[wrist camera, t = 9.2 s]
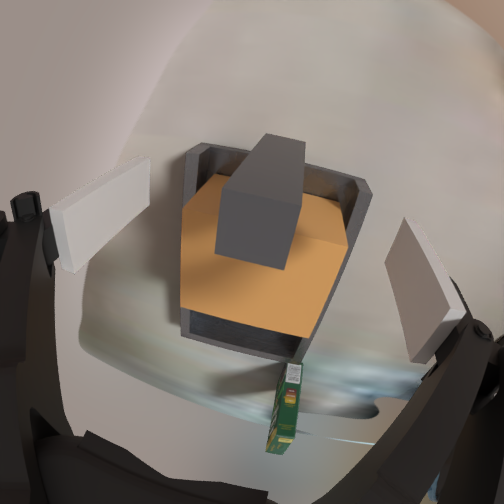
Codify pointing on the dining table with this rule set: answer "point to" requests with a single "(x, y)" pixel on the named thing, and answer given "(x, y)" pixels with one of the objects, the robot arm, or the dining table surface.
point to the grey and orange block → (262, 243)
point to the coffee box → (285, 409)
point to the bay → (315, 183)
